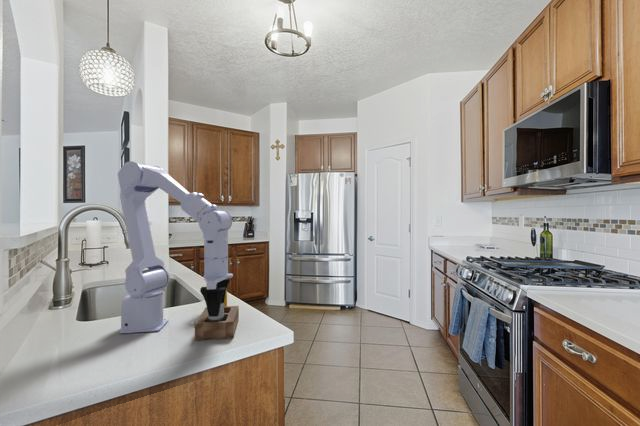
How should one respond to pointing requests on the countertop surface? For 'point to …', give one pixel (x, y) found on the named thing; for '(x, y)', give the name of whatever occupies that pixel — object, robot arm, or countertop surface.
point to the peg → (220, 316)
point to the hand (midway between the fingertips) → (216, 310)
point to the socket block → (217, 325)
